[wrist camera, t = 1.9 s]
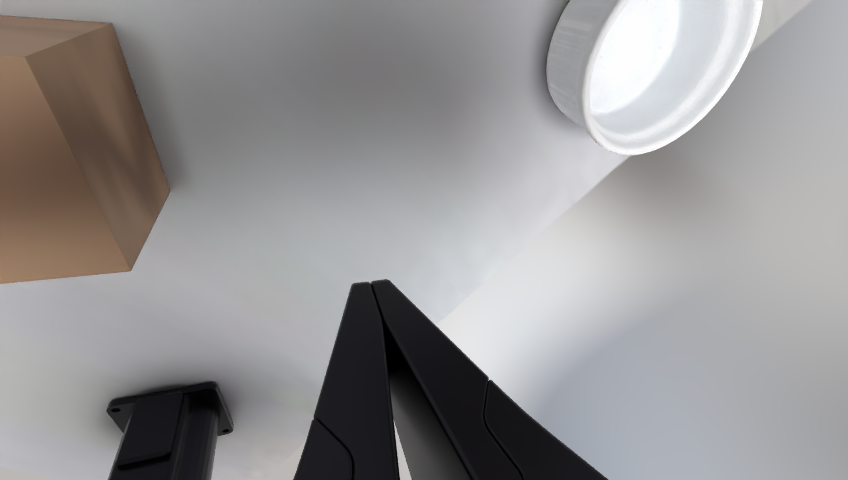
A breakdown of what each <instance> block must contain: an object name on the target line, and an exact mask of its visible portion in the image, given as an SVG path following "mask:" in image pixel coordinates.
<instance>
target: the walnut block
mask: <svg viewBox="0 0 848 480" xmlns="http://www.w3.org/2000/svg"><path fill="white" fill-rule="evenodd" d="M169 193H170V189H169V186H168V183H167V180H166V177H165V174H164V171H163V169H162V166H161V163H160V160H159V157H158V154H157V151H156V148H155V146H154V143H153V140H152V137H151V134H150V131H149V128H148V125H147V123H146V120H145V117H144V114H143V111H142V108H141V105H140V102H139V100H138V97H137V94H136V91H135V88H134V85H133V82H132V79H131V77H130V74H129V71H128V68H127V65H126V62H125V59H124V56H123V54H122V51H121V48H120V45H119V42H118V39H117V36H116V34H115V31H114V28H113V25H112V23H102V22H87V21H73V20H59V19H45V18H30V17H16V16H2V15H0V284H3V283H14V282H24V281H34V280H45V279H55V278H66V277H76V276H86V275H97V274H107V273H117V272H128V271H131V270H132V268H133V266H134V264H135V262H136V260H137V258H138V256H139V254H140V252H141V249H142V247H143V245H144V243H145V241H146V239H147V237H148V235H149V233H150V231H151V229H152V227H153V225H154V223H155V221H156V219H157V217H158V215H159V213H160V211H161V209H162V207H163V205H164V203H165V201H166V199H167V197H168V195H169Z"/></svg>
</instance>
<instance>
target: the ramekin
mask: <svg viewBox="0 0 848 480" xmlns="http://www.w3.org/2000/svg"><path fill="white" fill-rule="evenodd" d="M762 4H763V0H570V1H569V3H568V4H567V6H566V8H565V10H564V11H563V13H562V15H561V17H560V19H559V21H558V23H557V26H556V28H555V31H554V33H553V37H552V40H551V43H550V48H549V52H548V57H547V68H546V71H547V83H548V88H549V92H550V94H551V97H552V99H553V100H554V102H555V104H556V106H557V107H558V108H559V110H560V111H561V112H562V113H563V114H565V115H566V116H567V117H568V118H569V119H571V120H572V121H573V122H575V123H576V124H577V125H579V126H580V127H581V128H583V129H584V130H585V131H587V133H588V134H589V135H590V137H591V138H592V139H593V140H594V141H595V142H596V143H597V144H599V145H600V146H601V147H602V148H604V149H606V150H607V151H610V152H612V153H615V154H620V155H638V154H643V153H647V152H650V151H653V150H656V149H658V148H661V147H663V146H665V145H667V144H668V143H670V142H672V141H674V140H675V139H677V138H678V137H680V136H681V135H683V134H684V133H686V132H687V131H688V130H689V129H691V128H692V127H693V126H694V125H695V124H697V123H698V122H699V121H700V120H701V119H702V118H703V117H704V116H705V115H706V114H707V113H708V112H709V111H710V110H711V109H712V108H713V106H714V105H715V104H716V103H717V102H718V101H719V99H720V98H721V97H722V95H723V94H724V92H725V91H726V90H727V89H728V87H729V86H730V84H731V83H732V81H733V80H734V78H735V76H736V75H737V73H738V72H739V70H740V68H741V66H742V64H743V63H744V61H745V59H746V57H747V55H748V52H749V50H750V48H751V45H752V43H753V40H754V37H755V35H756V31H757V28H758V24H759V20H760V16H761V11H762Z"/></svg>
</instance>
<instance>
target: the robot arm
mask: <svg viewBox="0 0 848 480" xmlns="http://www.w3.org/2000/svg"><path fill="white" fill-rule="evenodd" d="M488 380H489V378H488V376H487V375H486V374H485V373H484V372H483V371H482V370H481V369H479V368H478V367H477V366H476V365H475V364H474V363H473V362H472V361H471V360H470V359H469V358H468V357H467V356H466V355H465V354H464V353H463V352H462V351H461V350H460V349H459V348H458V347H457V346H456V345H455V344H454V343H453V342H452V341H451V340H450V339H449V338H448V337H447V336H446V335H445V334H444V333H443V332H442V331H441V330H440V329H439V328H438V327H437V326H436V325H435V324H433V323H432V322H431V321H430V320H429V319H428V318H427V317H426V316H425V315H424V314H423V313H422V312H421V311H420V310H419V309H418V308H417V307H416V306H415V305H414V304H413V303H412V302H411V301H410V300H409V299H408V298H407V297H406V296H405V295H404V294H403V293H402V292H401V291H400V290H399V289H398V288H397V287H396V286H395V285H394V284H393V283H392V282H391V281H389V280H387V279H385V280H377V281H372V282H371V284H370V283H369V282H360V283H354V284H352V286H351V289H350V292H349V296H348V299H347V302H346V306H345V309H344V313H343V316H342V320H341V323H340V327H339V330H338V334H337V337H336V341H335V344H334V348H333V351H332V354H331V358H330V361H329V365H328V368H327V372H326V375H325V379H324V382H323V386H322V389H321V393H320V396H319V399H318V403H317V406H316V410H315V413H314V420H312V423H311V426H310V430H309V433H308V437H307V440H306V443H305V446H304V450H303V452H302V455H301V459H300V462H299V465H298V468H297V471H296V474H295V476H294V479H293V480H400V476H399V467H398V457H397V449H396V439H395V429H394V422H395V425H396V428H397V432H398V435H399V438H400V442H401V445H402V448H403V452H404V455H405V458H406V462H407V465H408V468H409V471H410V475H411V478H412V480H608V479H607V478H606V477H604V476H603V475H602V474H601V473H599V472H598V471H597V470H595V469H594V468H593V467H592V466H590V465H589V464H588V463H587V462H586V461H584V460H583V459H582V458H581V457H579V456H578V455H577V454H576V453H574V452H573V451H572V450H571V449H570V448H568V447H567V446H566V445H564V444H563V443H562V442H561V441H560V440H558V439H557V438H556V437H555V436H553V435H552V434H551V433H550V432H548V431H547V430H546V429H545V428H543V427H542V426H541V425H540V424H539V423H538V422H537V421H535V420H534V419H533V418H532V417H531V416H529V415H528V414H527V413H526V412H525V411H524V410H523V409H521V408H520V407H519V406H518V405H517V404H516V403H515V402H514V401H513V400H512V399H511V398H510V397H509V396H507V395H506V394H505V393H504V392H503V391H502V390H501V389H500V388H499V387H498V386H497V385H496V384H495V383H494V382H493V381H492V380H489V381H488ZM106 411H107V413H108V414H109V415H110V417H111V418H112V419H113V420H114V422H115V423H116V424H117V425H118V427H119V428H120V429H121V431H122V432H123V433H124V434H123V437H122V440H121V443H120V445H119V448H118V451H117V454H116V457H115V460H114V463H113V466H112V469H111V472H110V474H109V477H108V480H211V476H212V469H213V462H214V456H215V449H216V442H217V436H221V435H225V434H229V433H231V432H232V431H233V422H232V420H231V418H230V415H229V413H228V410H227V408H226V406H225V403H224V401H223V398H222V396H221V393H220V391H219V389H218V386H217V385H216V384H212V383H210V384H203V385H198V386H192V387H187V388H182V389H176V390H171V391H165V392H160V393H154V394H149V395H143V396H138V397H132V398H127V399H121V400H116V401H112V402H110V403H109V405H108V407H107V410H106ZM393 418H394V420H393Z"/></svg>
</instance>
